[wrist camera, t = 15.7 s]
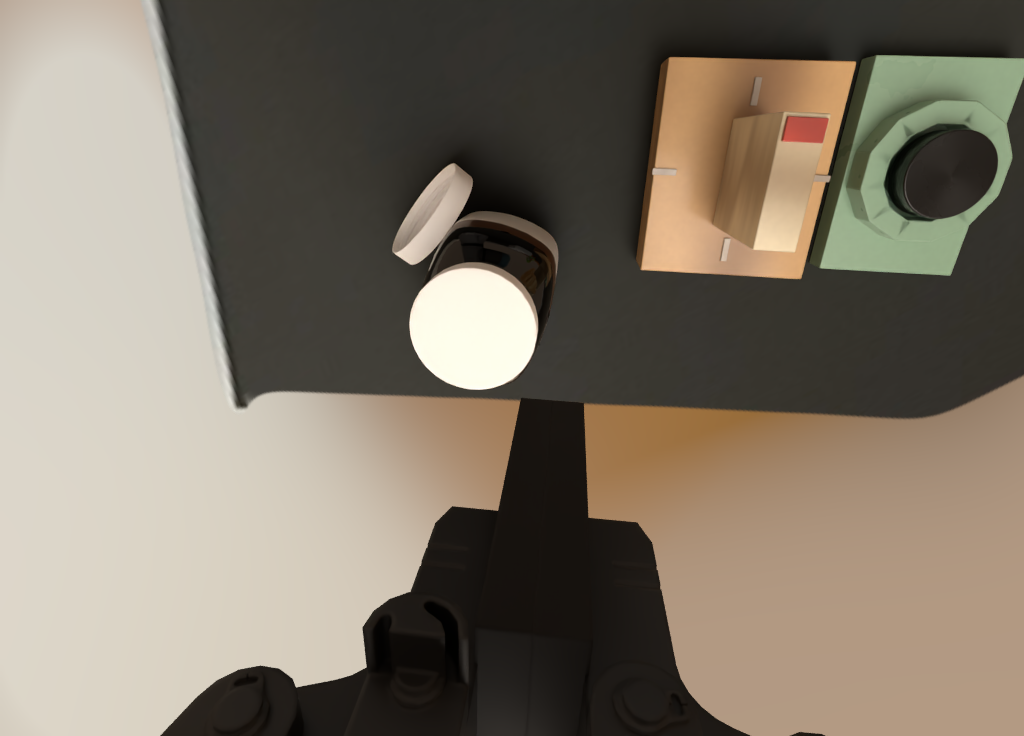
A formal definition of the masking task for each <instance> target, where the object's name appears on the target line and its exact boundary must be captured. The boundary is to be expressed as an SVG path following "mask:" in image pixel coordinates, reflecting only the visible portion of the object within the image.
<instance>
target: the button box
mask: <svg viewBox="0 0 1024 736" xmlns="http://www.w3.org/2000/svg"><path fill="white" fill-rule="evenodd" d="M1023 78H1024V58H984V57H941V56H899V55H875V56H872V57H868V58H865V59H862V61H861V65H860V69H859V72H858V76H857V80H856V84H855V88H854V92H853V96H852V100H851V103H850V107H849V111H848V115H847V119H846V123H845V127H844V130H843V134H842V138H841V142H840V146H839V150H838V154H837V157H836V161H835V165H834V169H833V173H832V177H831V181H830V184H829V188H828V192H827V196H826V200H825V204H824V208H823V212H822V215H821V219H820V223H819V227H818V231H817V235H816V239H815V242H814V246H813V250H812V254H811V258H810V262H809V263H811V264H813V265H815V266H817V267H819V268H825V269H843V270H860V271H878V272H896V273H914V274H932V275H951V273H952V270H953V267H954V265H955V262H956V259H957V256H958V254H959V251H960V248H961V246H962V243H963V240H964V237H965V235H966V232H967V229H968V227H969V225H970V224H971V223H972V222H973V221H974V220H975V219H976V218H977V217H978V216H979V215H980V214H981V213H982V212H983V211H984V210H985V209H986V208H987V207H988V206H989V205H990V204H991V203H992V202H993V201H994V200H995V199H996V198H997V195H999V193H1000V190H1001V187H1002V185H1003V182H1004V179H1005V177H1006V174H1007V172H1008V169H1009V166H1010V164H1011V161H1012V157H1013V156H1012V151H1011V145H1010V140H1009V135H1008V130H1007V121H1008V118H1009V116H1010V113H1011V110H1012V107H1013V105H1014V102H1015V99H1016V97H1017V94H1018V91H1019V88H1020V86H1021V83H1022V80H1023ZM952 129H969V130H974V131H978V132H980V133H982V134H984V135H985V136H987V137H988V138H989V139H990V140H991V141H992V143H993V144H994V146H995V148H996V151H997V154H998V169H997V173H996V177H995V179H994V181H993V183H992V185H991V187H990V189H989V190H988V191H987V193H986V194H985V195H984V196H983V198H982V199H981V200H980V201H979V202H977V203H976V204H975V205H974V206H972V207H971V208H970V209H968V210H966V211H965V212H963V213H960V214H958V215H956V216H953V217H949V218H944V219H930V218H925V217H920V216H916V215H911V214H908V213H905V212H903V211H901V210H900V209H898V208H897V207H896V206H895V205H894V203H893V202H892V200H891V199H890V196H889V193H888V187H887V181H888V175H889V171H890V168H891V166H892V164H893V162H894V160H895V159H896V157H897V156H898V154H899V153H900V152H901V151H902V150H903V149H904V148H905V147H906V146H907V145H908V144H909V143H910V142H912V141H913V140H915V139H916V138H918V137H920V136H921V135H924V134H926V133H929V132H932V131H936V130H952Z"/></svg>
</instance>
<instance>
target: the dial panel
mask: <svg viewBox="0 0 1024 736" xmlns="http://www.w3.org/2000/svg"><path fill="white" fill-rule="evenodd" d="M855 66H856V62H855V61H819V60H778V59H737V58H696V57H669V58H668V59H667V60H665V61H664V62H663V63H662V64H661V68H660V76H659V84H658V91H657V99H656V107H655V115H654V123H653V131H652V138H651V146H650V154H649V162H648V170H647V177H646V185H645V193H644V201H643V209H642V216H641V224H640V232H639V240H638V248H637V256H636V261H637V263H638V265H639V267H640V269H641V270H651V271H668V272H686V273H703V274H721V275H738V276H755V277H773V278H790V279H801V277H802V273H803V269H804V265H805V261H806V257H807V254H808V250H809V246H810V242H811V238H812V234H813V230H814V226H815V222H816V218H817V215H818V211H819V207H820V203H821V199H822V195H823V191H824V187H825V183H826V182H829V181H830V177H831V176H829V175H828V172H829V168H830V164H831V160H832V156H833V152H834V148H835V144H836V140H837V136H838V132H839V129H840V125H841V121H842V117H843V113H844V109H845V105H846V101H847V97H848V93H849V89H850V86H851V82H852V78H853V74H854V70H855ZM784 111H788V112H810V113H829V114H831V116H830V120H829V124H828V128H827V132H826V135H825V139H824V143H823V147H822V151H821V155H820V159H819V162H818V166H817V170H816V174H815V178H814V182H813V185H812V189H811V193H810V197H809V201H808V205H807V208H806V212H805V216H804V220H803V224H802V228H801V231H800V235H799V239H798V243H797V247H796V251H795V252H794V253H792V252H777V251H762V250H753V249H751V248H749V247H748V246H746V245H744V244H743V243H741V242H739V241H738V240H736V239H735V238H733V237H731V236H730V235H728V234H726V233H725V232H723V231H721V230H720V229H718V228H716V227H715V226H713V221H714V216H715V211H716V206H717V201H718V196H719V191H720V185H721V180H722V175H723V170H724V165H725V160H726V155H727V149H728V144H729V139H730V134H731V129H732V124H733V119H735V118H741V117H749V116H756V115H763V114H770V113H777V112H784Z"/></svg>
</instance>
